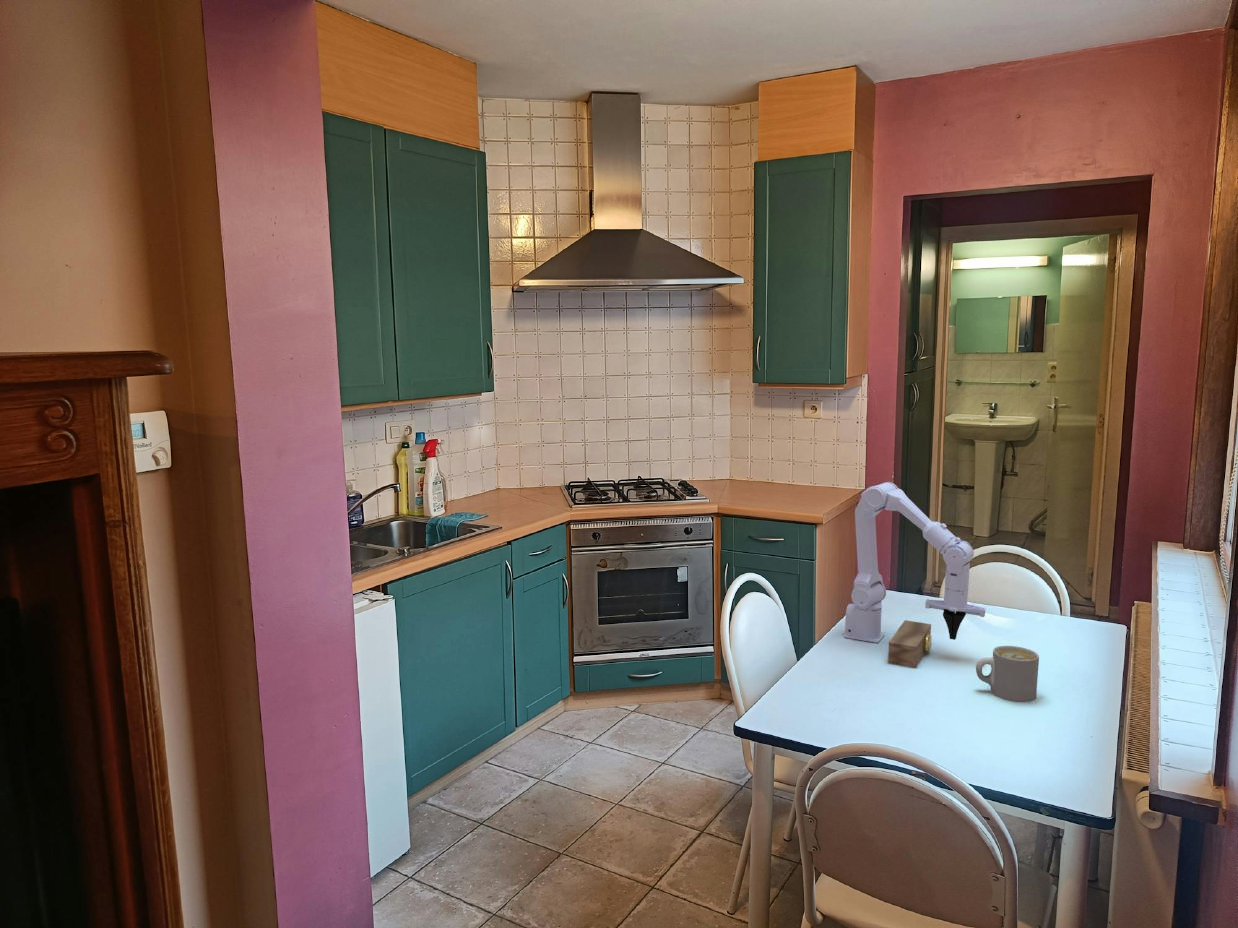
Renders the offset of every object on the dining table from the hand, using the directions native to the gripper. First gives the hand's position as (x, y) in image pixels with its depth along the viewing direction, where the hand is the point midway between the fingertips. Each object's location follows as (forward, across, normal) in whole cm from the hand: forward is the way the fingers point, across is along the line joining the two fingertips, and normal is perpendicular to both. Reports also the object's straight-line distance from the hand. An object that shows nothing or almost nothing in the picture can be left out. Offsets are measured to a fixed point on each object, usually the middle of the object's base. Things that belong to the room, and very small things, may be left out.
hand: (952, 638), depth 228 cm
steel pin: (+5, -10, 0) cm, 11 cm away
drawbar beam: (+5, -10, -2) cm, 12 cm away
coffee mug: (+5, +15, -17) cm, 23 cm away
